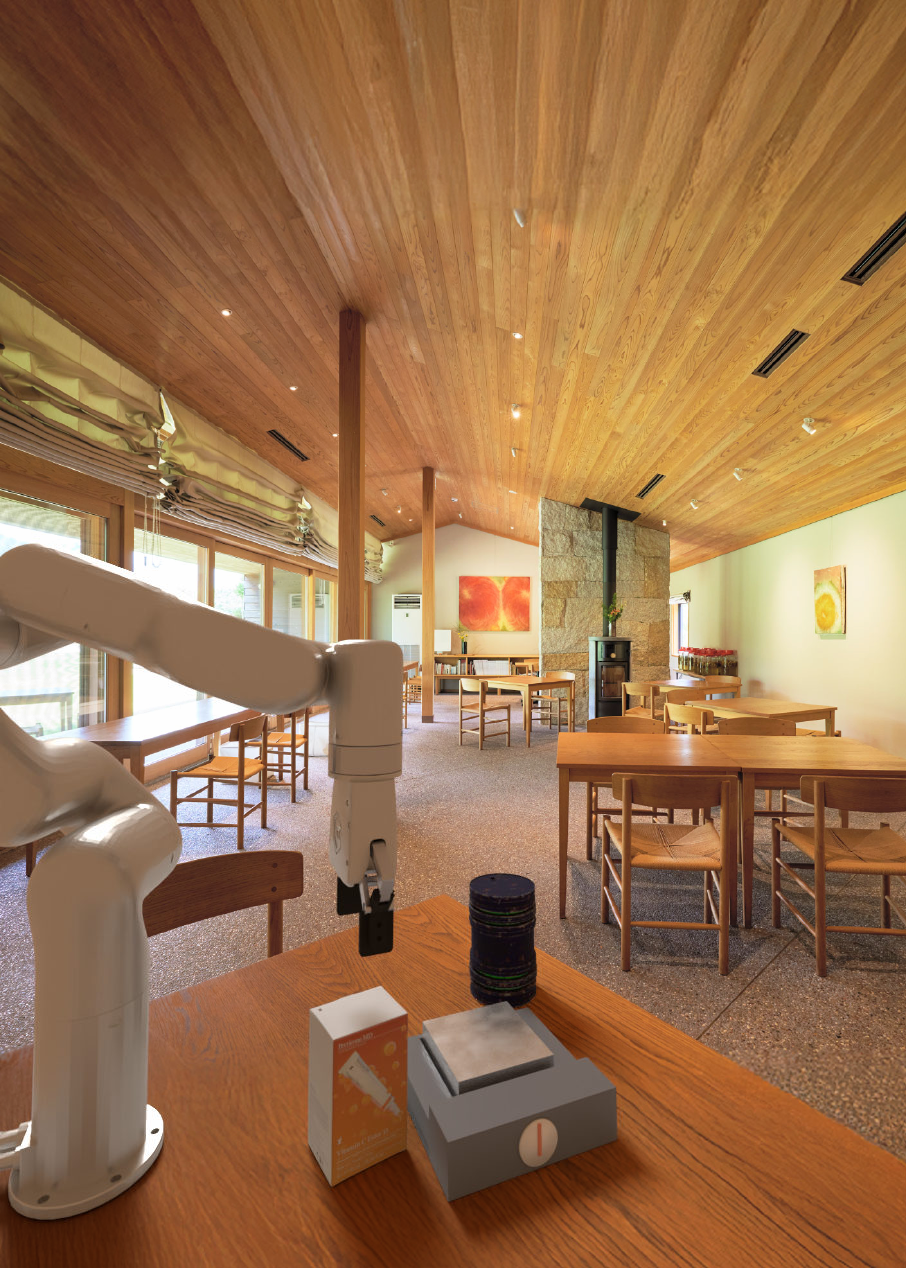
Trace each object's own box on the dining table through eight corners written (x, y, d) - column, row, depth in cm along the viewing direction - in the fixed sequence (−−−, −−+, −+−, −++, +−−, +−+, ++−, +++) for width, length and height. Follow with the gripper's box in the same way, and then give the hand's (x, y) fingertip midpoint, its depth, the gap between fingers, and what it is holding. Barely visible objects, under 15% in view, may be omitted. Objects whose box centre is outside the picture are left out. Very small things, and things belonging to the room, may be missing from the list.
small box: (331, 1190, 53) (331, 1040, 54) (306, 1143, 59) (307, 1007, 59) (409, 1149, 58) (409, 1011, 59) (380, 1109, 63) (380, 983, 64)
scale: (450, 1206, 52) (450, 1146, 52) (391, 1072, 69) (391, 1027, 69) (620, 1143, 58) (619, 1090, 59) (528, 1035, 76) (527, 995, 76)
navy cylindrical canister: (551, 998, 84) (549, 890, 85) (490, 1016, 80) (489, 902, 81) (514, 966, 93) (513, 868, 94) (457, 980, 89) (457, 878, 90)
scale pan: (458, 1113, 59) (458, 1082, 59) (422, 1047, 69) (422, 1021, 70) (554, 1083, 63) (553, 1054, 64) (506, 1026, 74) (506, 1001, 74)
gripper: (313, 750, 67) (310, 905, 67) (348, 777, 52) (344, 981, 51) (378, 747, 70) (375, 895, 69) (429, 772, 54) (427, 964, 53)
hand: (362, 931), depth 60 cm, fingers open, 9 cm apart
